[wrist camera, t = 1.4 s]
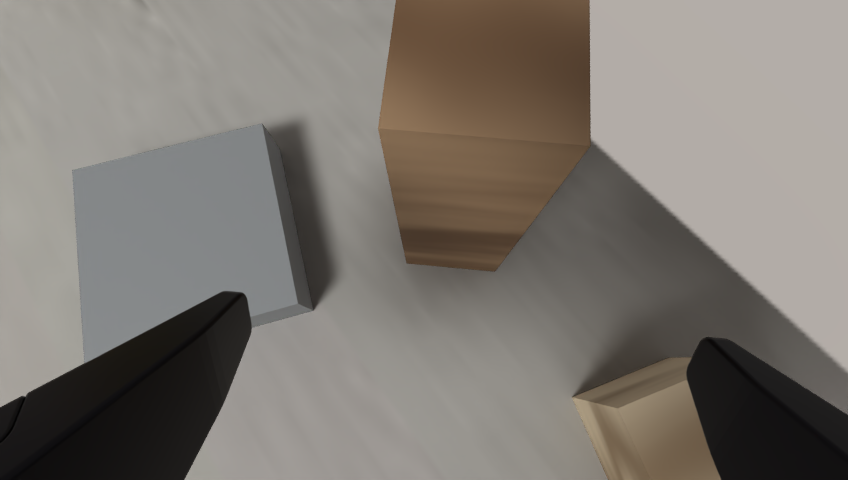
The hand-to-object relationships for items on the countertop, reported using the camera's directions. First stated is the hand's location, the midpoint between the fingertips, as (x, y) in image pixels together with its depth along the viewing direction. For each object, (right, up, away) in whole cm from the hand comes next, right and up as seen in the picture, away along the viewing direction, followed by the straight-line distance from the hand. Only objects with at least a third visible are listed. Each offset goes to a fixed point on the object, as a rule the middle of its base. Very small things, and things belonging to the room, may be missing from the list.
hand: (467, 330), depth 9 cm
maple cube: (+9, -7, +11) cm, 16 cm away
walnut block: (+1, +3, +13) cm, 14 cm away
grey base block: (-12, +1, +14) cm, 18 cm away
